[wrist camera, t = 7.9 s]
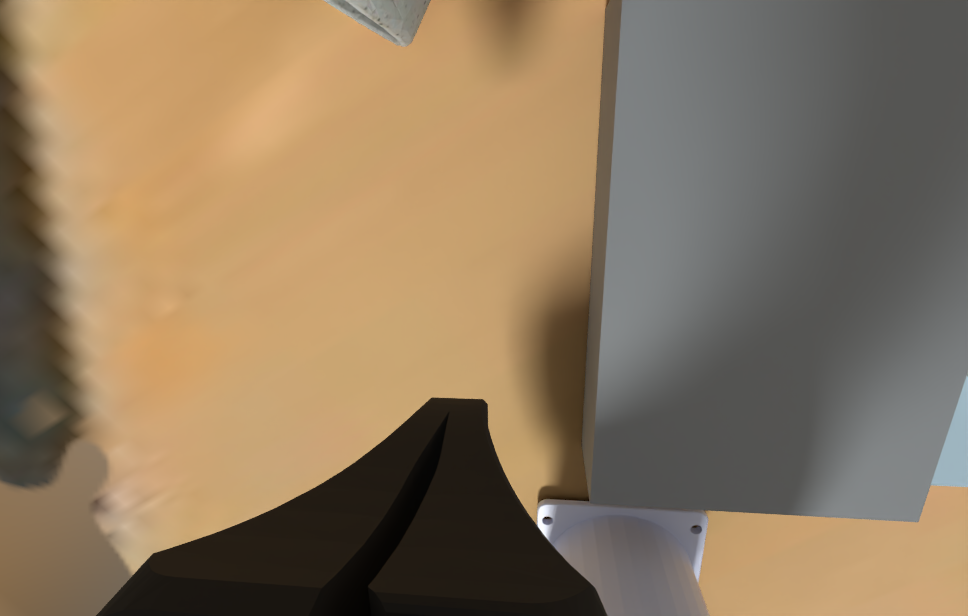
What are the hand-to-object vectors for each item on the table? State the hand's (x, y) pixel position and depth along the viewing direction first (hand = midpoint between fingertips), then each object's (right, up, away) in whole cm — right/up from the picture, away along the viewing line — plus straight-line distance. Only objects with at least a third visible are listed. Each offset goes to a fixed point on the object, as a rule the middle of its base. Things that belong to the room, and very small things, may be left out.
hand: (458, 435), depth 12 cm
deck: (+11, +5, +8) cm, 15 cm away
